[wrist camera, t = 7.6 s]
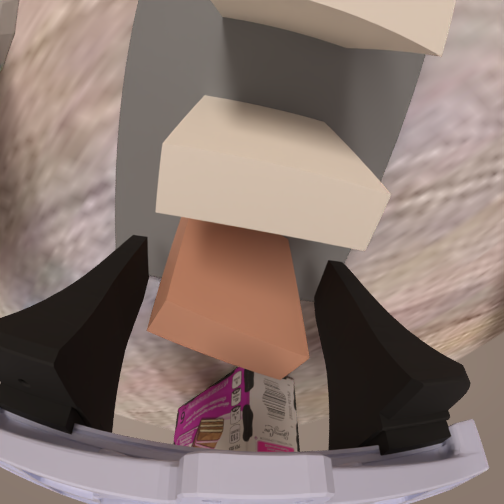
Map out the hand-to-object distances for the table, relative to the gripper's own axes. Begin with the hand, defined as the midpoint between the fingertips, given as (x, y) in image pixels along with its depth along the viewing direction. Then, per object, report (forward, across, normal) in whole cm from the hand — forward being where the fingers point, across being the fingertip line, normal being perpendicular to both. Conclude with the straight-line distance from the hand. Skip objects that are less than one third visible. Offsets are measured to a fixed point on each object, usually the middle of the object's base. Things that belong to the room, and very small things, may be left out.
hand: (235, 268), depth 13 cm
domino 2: (+3, 0, -5) cm, 6 cm away
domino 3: (+3, 0, 0) cm, 3 cm away
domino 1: (+3, 0, -10) cm, 11 cm away
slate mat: (+4, 0, -10) cm, 11 cm away
